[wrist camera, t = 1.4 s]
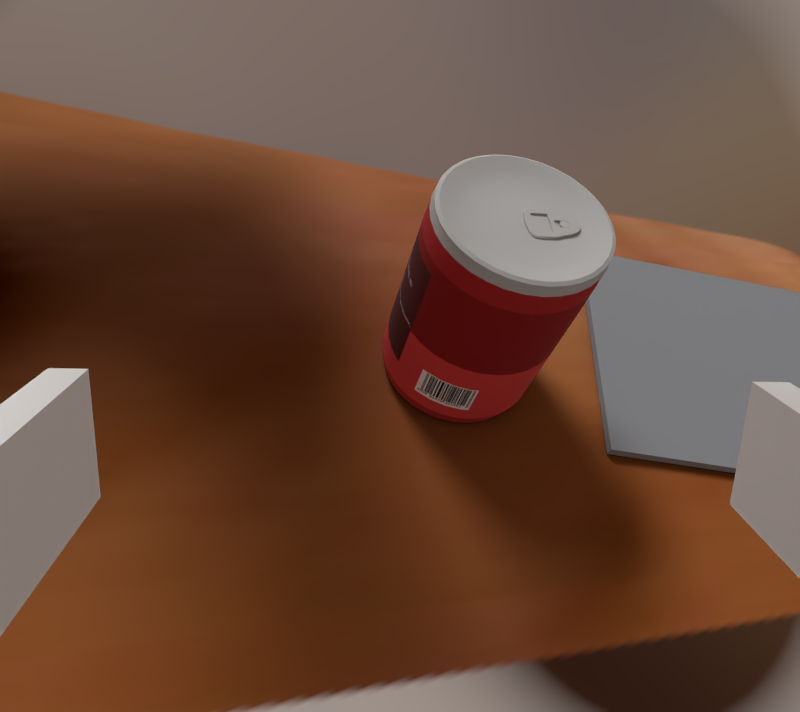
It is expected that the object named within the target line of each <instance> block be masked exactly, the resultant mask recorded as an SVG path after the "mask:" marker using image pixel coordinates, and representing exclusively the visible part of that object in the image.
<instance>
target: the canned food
mask: <svg viewBox="0 0 800 712" xmlns="http://www.w3.org/2000/svg"><path fill="white" fill-rule="evenodd" d="M615 248H616V239H615V232H614V228H613V224H612V222H611V220H610V218H609V216H608V214H607V212H606V210H605V209H604V208H603V206H602V205H601V204H600V203H599V201H598V200H597V199H596V198H595V197H594V196H593V195H592V194H591V193H590V192H589V191H588V190H587V189H586V188H585V187H584V186H582V185H581V184H580V183H578V182H577V181H575V180H574V179H573V178H571V177H570V176H568V175H566V174H564V173H562V172H561V171H559V170H557V169H555V168H552V167H550V166H548V165H545V164H543V163H541V162H537V161H534V160H530V159H527V158H523V157H516V156H510V155H485V156H476V157H473V158H469V159H466V160H463V161H461V162H459V163H457V164H456V165H454V166H452V167H451V168H450V169H449V170H448V171H447V172H445V173H444V174H443V176H442V177H441V179H440V181H439V182H438V184H437V186H436V188H435V190H434V192H433V194H432V196H431V199H430V202H429V205H428V207H427V210H426V212H425V214H424V217H423V220H422V223H421V226H420V229H419V232H418V235H417V238H416V241H415V244H414V247H413V250H412V253H411V256H410V259H409V262H408V265H407V267H406V270H405V273H404V276H403V279H402V282H401V285H400V288H399V291H398V294H397V297H396V300H395V303H394V306H393V309H392V312H391V315H390V318H389V321H388V323H387V326H386V329H385V333H384V337H383V341H382V345H383V359H384V364H385V368H386V372H387V375H388V377H389V379H390V381H391V383H392V385H393V386H394V387H395V389H396V390H397V391H398V392H399V394H400V395H401V396H402V397H403V398H404V399H405V400H406V401H408V402H409V403H410V404H411V405H412V406H414V407H416V408H417V409H419V410H420V411H422V412H423V413H426V414H428V415H430V416H433V417H435V418H438V419H442V420H446V421H449V422H458V423H472V422H480V421H484V420H487V419H491V418H493V417H495V416H497V415H498V414H500V413H502V412H504V411H506V410H507V409H509V408H511V407H512V406H513V405H514V404H515V403H516V402H518V401H519V400H520V398H521V397H522V395H523V394H524V392H525V391H526V389H527V388H528V386H529V385H530V383H531V382H532V380H533V379H534V378H535V376H536V375H537V373H538V372H539V370H540V369H541V367H542V366H543V364H544V363H545V361H546V360H547V358H548V357H549V355H550V354H551V352H552V351H553V350H554V348H555V347H556V345H557V344H558V342H559V341H560V339H561V338H562V336H563V335H564V333H565V332H566V330H567V329H568V327H569V326H570V324H571V323H572V321H573V320H574V319H575V317H576V316H577V314H578V313H579V311H580V310H581V308H582V307H583V305H584V304H585V302H586V301H587V299H588V298H589V296H590V295H591V293H592V292H593V291H594V289H595V288H596V286H597V284H598V282H599V281H600V279H601V278H602V276H603V275H604V273H605V272H606V270H607V269H608V265H609V263H610V261H611V260H612V258H613V254H614V251H615Z"/></svg>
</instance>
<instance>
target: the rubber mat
mask: <svg viewBox="0 0 800 712" xmlns="http://www.w3.org/2000/svg"><path fill="white" fill-rule="evenodd" d="M585 304H586V311H587V318H588V325H589V332H590V339H591V346H592V353H593V360H594V367H595V374H596V381H597V388H598V395H599V402H600V409H601V416H602V423H603V430H604V436H605V443H606V450H607V454H611V455H617V456H624V457H630V458H637V459H644V460H650V461H657V462H664V463H670V464H677V465H683V466H690V467H697V468H703V469H710V470H717V471H723V472H730V473H736V467H737V462H738V456H739V451H740V445H741V440H742V435H743V429H744V424H745V418H746V413H747V407H748V402H749V396H750V391H751V385H752V382H790V383H791V384H793V385H795V386H796V387H798V388H799V389H800V292H795V291H790V290H785V289H779V288H774V287H769V286H764V285H759V284H754V283H749V282H744V281H739V280H734V279H729V278H723V277H718V276H713V275H708V274H703V273H698V272H693V271H688V270H683V269H678V268H673V267H668V266H662V265H657V264H652V263H647V262H642V261H637V260H632V259H627V258H622V257H617V256H613V258H612V260H611V261H610V263H609V265H608V269H607V270H606V272H605V273H604V275H603V276H602V278H601V279H600V281H599V282H598V284H597V286H596V288H595V289H594V291H593V292H592V293H591V295H590V296H589V298H588V299H587V301H586V302H585Z"/></svg>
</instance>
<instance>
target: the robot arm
mask: <svg viewBox="0 0 800 712" xmlns="http://www.w3.org/2000/svg"><path fill="white" fill-rule="evenodd" d="M100 497H101V495H100V484H99V474H98V464H97V453H96V443H95V432H94V422H93V411H92V401H91V390H90V380H89V369H71V368H47V369H46V370H45V371H43V372H42V373H41V374H40V375H38V376H37V377H36V378H34V379H33V380H32V381H30V382H29V383H28V384H26V385H25V386H24V387H22V388H21V389H20V390H19V391H17V392H16V393H15V394H13V395H12V396H11V397H9V398H8V399H7V400H5V401H4V402H3V403H2V404H0V636H1V635H2V633H3V632H4V631H5V629H6V628H7V626H8V625H9V624H10V622H11V621H12V620H13V618H14V617H15V615H16V614H17V613H18V611H19V610H20V608H21V607H22V606H23V604H24V603H25V601H26V600H27V599H28V597H29V596H30V595H31V593H32V592H33V590H34V589H35V588H36V586H37V585H38V583H39V582H40V581H41V579H42V578H43V576H44V575H45V574H46V572H47V571H48V570H49V568H50V567H51V565H52V564H53V563H54V561H55V560H56V558H57V557H58V556H59V554H60V553H61V551H62V550H63V549H64V547H65V546H66V545H67V543H68V542H69V540H70V539H71V538H72V536H73V535H74V533H75V532H76V531H77V529H78V528H79V526H80V525H81V524H82V522H83V521H84V520H85V518H86V517H87V515H88V514H89V513H90V511H91V510H92V508H93V507H94V506H95V504H96V503H97V501H98V500H99V499H100ZM730 505H731V506H732V507H733V508H734V509H735V510H736V511H737V512H738V514H739V515H740V516H741V517H742V518H743V519H744V520H745V521H746V522H747V523H748V524H749V525H750V526H751V527H752V528H753V529H754V531H755V532H756V533H757V534H758V535H759V536H760V537H761V538H762V539H763V540H764V541H765V542H766V543H767V544H768V545H769V547H770V548H771V549H772V550H773V551H774V552H775V553H776V554H777V555H778V556H779V557H780V558H781V559H782V560H783V561H784V562H785V564H786V565H787V566H788V567H789V568H790V569H791V570H792V571H793V572H794V573H795V574H796V575H797V576H798V577H799V578H800V389H799V388H798V387H796V386H795V385H793V384H791V383H790V382H752V385H751V391H750V396H749V402H748V407H747V413H746V418H745V424H744V429H743V435H742V440H741V445H740V451H739V456H738V462H737V467H736V473H735V478H734V484H733V489H732V495H731V500H730Z"/></svg>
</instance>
